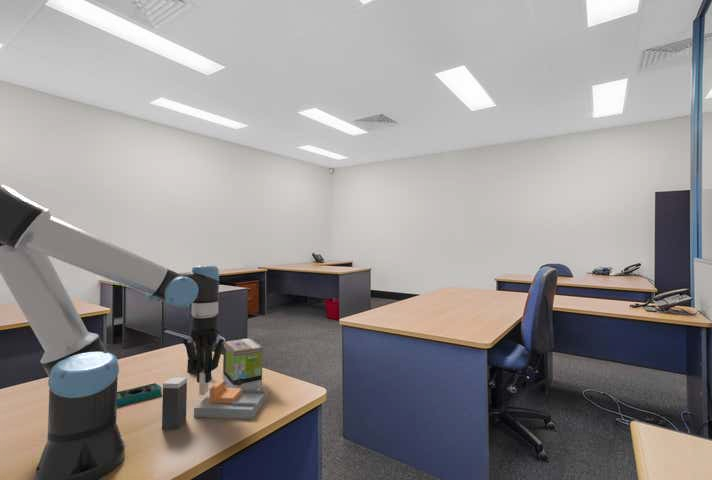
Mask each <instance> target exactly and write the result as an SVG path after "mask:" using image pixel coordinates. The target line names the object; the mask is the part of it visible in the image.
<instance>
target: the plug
mask: <svg viewBox="0 0 712 480" xmlns="http://www.w3.org/2000/svg"><path fill="white" fill-rule="evenodd" d="M187 388H188V377H174V376H173V377H171V378H169V379H168V380H166V381H165V382H162V407H161V408H162V410H161V411H162V412H161V430H178V429H179V428H180V427H181V426H183V425H184V424H185V423H186V422H187V402H188V401H187V399H188V397H187V396H188V395H187V394H188V389H187Z"/></svg>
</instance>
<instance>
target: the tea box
mask: <svg viewBox="0 0 712 480" xmlns="http://www.w3.org/2000/svg"><path fill="white" fill-rule="evenodd" d="M263 348H264V347H263V346H262V345H261V344H259V343H257V342H256V341H255V340H253V339H251V338H250V337H249V338H242V339H241V338H240V339H235V340H228V341H227V340H226V341H225V343H224V344H223V362H222V364H223V365H222V380H225V387H226V388H242V390H258V389H261V388H262V389H263V362H264V361H263V358H264V357H263V356H264V354H263V353H264V349H263ZM262 389H261V390H262Z"/></svg>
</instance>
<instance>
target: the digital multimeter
mask: <svg viewBox="0 0 712 480" xmlns="http://www.w3.org/2000/svg"><path fill="white" fill-rule="evenodd" d="M161 396H162V386H161V385H160V384H158V383H155V382H154V383H150V384H146V385H141V386H137V387H134V388H129V389H124V390H120V391H117V408H119V407H122V406H126V405H129V404H135V403H137V402H141V401H145V400H151V399H154V398H158V397H161Z"/></svg>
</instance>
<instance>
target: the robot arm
mask: <svg viewBox="0 0 712 480" xmlns="http://www.w3.org/2000/svg"><path fill="white" fill-rule="evenodd" d="M50 257H51V258H54V259H56V260H59V261H60V262H64V263H66V264H69V265H71V266H74V267H77V268H78V269H79V268H80V269H82V270H84V271H86V272H90V273H92V274H95V275H97V276H100V277H102V278H105V279H106V280H110V281H112V282H115V283H117V284H119V285H120V284H121V285H122V286H125V287H128V288H130V289H133V290H136V291H138V292H141V293H144V294H145V297H146V300H147V301H150V302H151V301H152V302H155V301H157V302H160V301H163V302H165V303H168V304H169V305H171V306H173V307H178V308H179V307H180V308H182V307H187V306H189V305H191V316H192V317H191V320H190V321H191V323H190V324H191V325H190V327H191V332H190V333H189V334H190V335H189V336H188V337H184V339H182V343H183V345H184V346H185V350H186V354H187V361H188V360H189V364H190V369H191V370H195V371H196V372H197V374H196V382H197V383H198V384H199V389H198V393H199V394H198V395H199V396H200V395H201V396H204V395H206V394H207V393H208V392H209V383H210V382H211V380H212V372H213V371H214V370H215V369H217V368H218V367H219V363H220V359H221V354H222V351H223V349H224V343H225V342H226V341H227V337H223V336H221V335H220V332H219V329H218V328H219V316H218V314H219V291H220V290H219V289H220V287H219V285H220V276H219V275H220V274H219V272H220V271H219V268H218V266H216V265H194V266H193V267H192V270H191V271H190V272H176V271H173V270H170V269H168V268H167V267H164V266H163V265H161V264H158V263H156V262H155V261H154V262H153V261H152V260H149V259H147V258H144V257H143V256H141V255H138V254H136V253H133V252H132V251H129V250H127V249H126V248H122V247H120V246H118V245H116V244H114V243H111V242H109V241H107V240H105V239H102V238H101V237H98V236H97V235H94V234H91V233H89V232H87V231H85V230H82V229H80V228H79V227H76V226H74V225H72V224H69V223H68V222H65V221H63V220H61V219H60V218H59V219H58V218H56V217H53V215H52V214H51V212H50V209H48V208H46V207H44V206H42V205H40V204H37V203H36V202H34V201H32V200H31V199H29V198H26V197H25V196H23V195H22V194H20V193H19V192H17V191H16V189H14V188H12V187H10V186H7V185H5V184H2V183H0V275H1V277H2V279H3V281H4V282H5V284H6V286H7V287H8V289H9V291H10V293H11V294H12V296H13V298H14V300H15V302H16V303H17V305H18V307H19V308H20V309H19V310H21V312H22V314H23V316H24V318H25V319H26V321H27V323H28V325H29V326H30V328H31V329H32V331H33V333H34V335H35V337H36V338H37V341H38V342H39V344H40V346H41V347H42V349H43V351H44V353H43V355H42V358H41V359H40V364H41V365H42V367H43V369H44V370H45V372H46V374H47V377H48V383H47V384H48V385H47V386H48V390H49V391H48V392H49V393H48V413H47V414H48V417H47V420H48V421H47V439H46V444H45V446H44V447H43V451H42V453H41V456H40V458H39V462H38V464H37V465H36V468H35V470H34V474H33V475H34V477H33V478H34V479H33V480H96V479H97V480H98V479H101V478H102V477H104V476H105V475H106V476H107V474H109V473H111V472H112V471H113V470H115V469H116V468H118V466H119V465H120V464H121V463H122V462H123V460H124V459H125V455H126V454H125V453H126V445H125V442H124V439H123V438H122V435H121V432H120V429H119V427H118V426H119V425H118V424H117V411H118V407H117V392H118V378H119V377H118V376H119V373H120V367H119V364H118V363H119V361H118V358H117V356H116V355H115V354H113V353H110V351H108V350H107V349H106V347H105V344H104V343H103V341H102V339H101V338H100V335H99V334H98V333H94V332H90V331H88V329H87V327H86V325H85V323H84V322H83V320H82V318H81V316H80V314H79V312H78V310H77V307H76V306H75V305H74V302H73V301H72V299H71V297H70V295H69V293H68V291H67V289H66V287H65V286H64V284H63V281H62V280H61V278H60V276H59V275H58V272H57V271H56V269H55V267H54V265H53V263H52V262H51V259H50ZM194 342H195V344H196V352H195V347H194ZM215 342H216V344H215V348H214V343H215ZM213 348H214V352H213ZM204 350H205V367H204ZM204 368H205V369H204ZM203 369H204V370H203Z"/></svg>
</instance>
